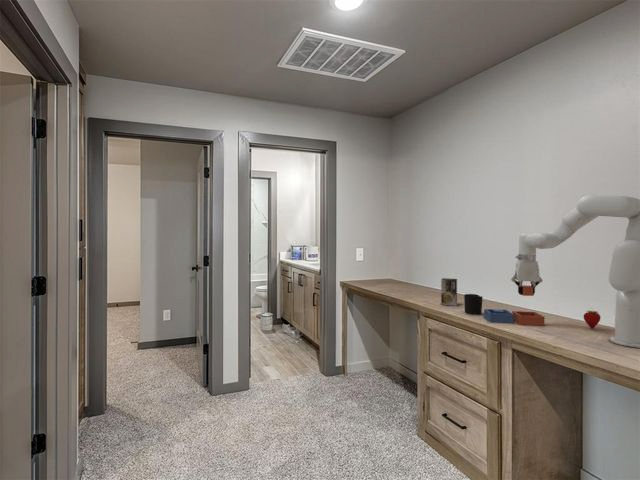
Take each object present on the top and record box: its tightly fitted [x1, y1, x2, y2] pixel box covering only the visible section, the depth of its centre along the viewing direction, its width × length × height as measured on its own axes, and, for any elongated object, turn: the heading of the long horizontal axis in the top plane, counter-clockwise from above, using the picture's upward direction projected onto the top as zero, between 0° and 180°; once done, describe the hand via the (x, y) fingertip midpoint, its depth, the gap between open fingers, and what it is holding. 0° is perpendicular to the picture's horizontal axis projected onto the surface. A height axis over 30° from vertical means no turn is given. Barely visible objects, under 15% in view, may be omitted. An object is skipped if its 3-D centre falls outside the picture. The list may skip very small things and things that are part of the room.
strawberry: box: [583, 307, 601, 329], centre depth 176 cm, size 6×8×10 cm
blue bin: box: [483, 308, 515, 324], centre depth 192 cm, size 11×11×4 cm
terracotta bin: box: [511, 310, 546, 327], centre depth 187 cm, size 11×11×4 cm
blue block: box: [493, 309, 505, 314], centre depth 192 cm, size 4×4×4 cm
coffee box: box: [440, 277, 458, 307], centre depth 232 cm, size 9×6×16 cm
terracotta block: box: [522, 284, 534, 297], centre depth 186 cm, size 4×4×4 cm
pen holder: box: [463, 293, 483, 316], centre depth 208 cm, size 9×9×10 cm
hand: (526, 294), depth 186 cm, fingers closed on terracotta block, 4 cm apart
